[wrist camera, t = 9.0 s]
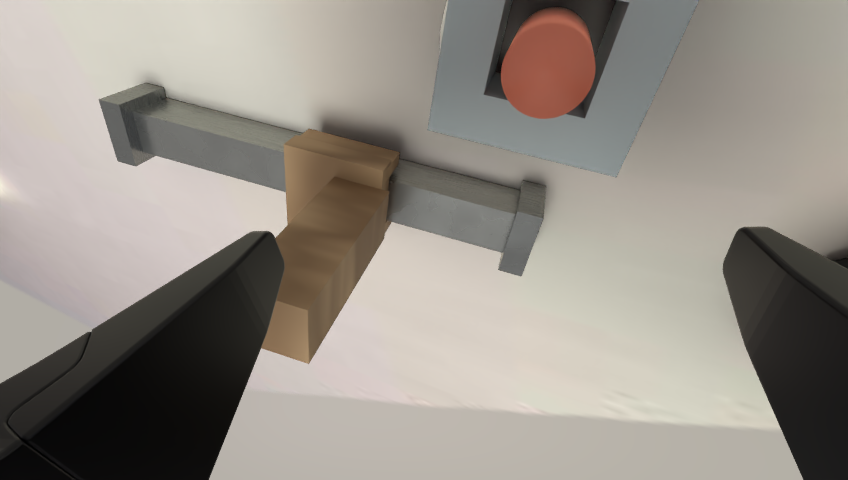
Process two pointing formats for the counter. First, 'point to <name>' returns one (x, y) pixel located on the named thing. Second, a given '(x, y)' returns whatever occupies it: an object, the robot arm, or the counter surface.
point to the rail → (264, 164)
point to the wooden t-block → (326, 234)
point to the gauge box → (588, 122)
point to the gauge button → (549, 64)
